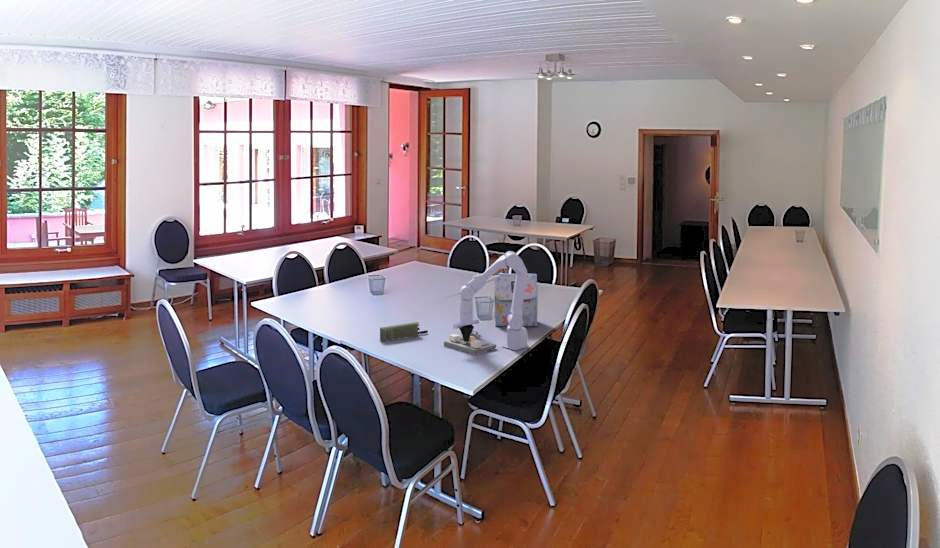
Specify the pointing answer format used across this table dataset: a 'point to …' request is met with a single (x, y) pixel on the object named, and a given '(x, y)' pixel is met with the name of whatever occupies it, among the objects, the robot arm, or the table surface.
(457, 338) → the lever
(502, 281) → the lunch bag
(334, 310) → the table surface
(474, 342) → the lever
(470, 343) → the lever
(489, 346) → the breaker panel
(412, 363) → the table surface
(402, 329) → the handheld radio
